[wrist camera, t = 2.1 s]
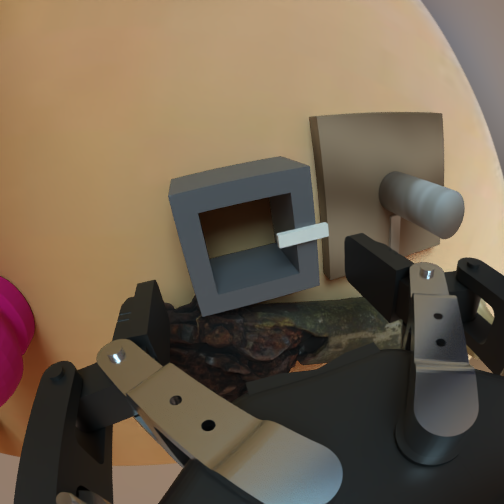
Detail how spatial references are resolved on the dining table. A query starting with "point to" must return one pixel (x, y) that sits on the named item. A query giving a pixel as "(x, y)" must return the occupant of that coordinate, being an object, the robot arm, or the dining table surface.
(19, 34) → the dining table surface
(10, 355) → the pepper mill
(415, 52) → the dining table surface
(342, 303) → the burnt branch
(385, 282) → the robot arm
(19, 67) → the dining table surface
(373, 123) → the shaft base
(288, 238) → the gray open box
